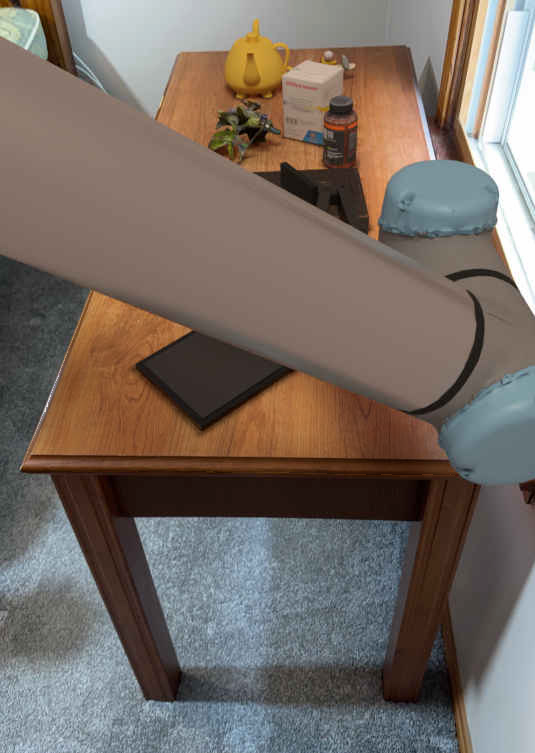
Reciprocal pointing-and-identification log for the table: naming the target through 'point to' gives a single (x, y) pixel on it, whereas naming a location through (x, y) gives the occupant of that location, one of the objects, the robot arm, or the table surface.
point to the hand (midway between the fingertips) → (231, 190)
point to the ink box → (309, 99)
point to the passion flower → (242, 127)
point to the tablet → (208, 376)
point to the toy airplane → (328, 61)
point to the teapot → (255, 64)
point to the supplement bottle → (340, 133)
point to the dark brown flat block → (331, 179)
